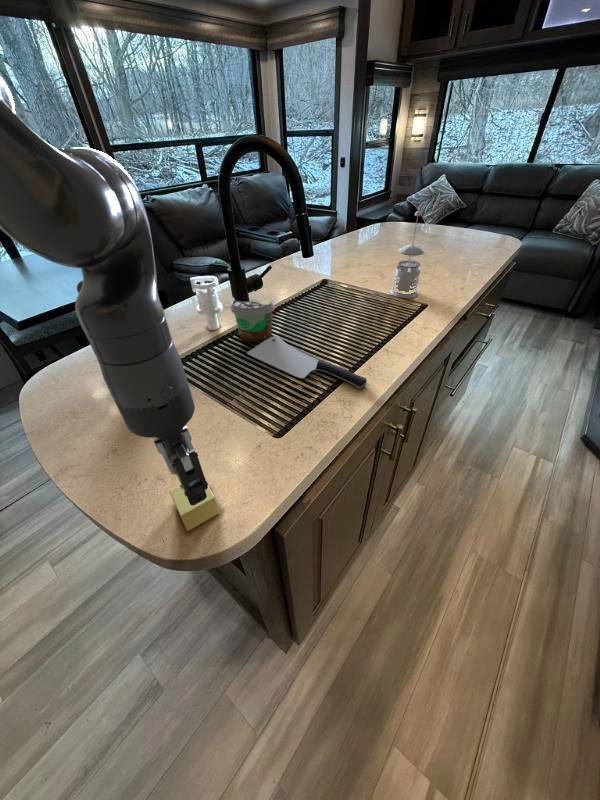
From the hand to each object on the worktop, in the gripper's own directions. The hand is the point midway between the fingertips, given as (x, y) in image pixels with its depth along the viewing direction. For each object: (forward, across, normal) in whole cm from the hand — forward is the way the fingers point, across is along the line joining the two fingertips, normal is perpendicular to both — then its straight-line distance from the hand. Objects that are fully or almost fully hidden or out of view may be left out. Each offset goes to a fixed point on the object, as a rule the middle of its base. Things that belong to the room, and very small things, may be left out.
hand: (186, 478), depth 45 cm
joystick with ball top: (-10, -39, -1) cm, 40 cm away
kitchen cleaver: (+8, -22, +36) cm, 43 cm away
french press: (+8, -40, +92) cm, 101 cm away
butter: (+8, 0, 0) cm, 8 cm away
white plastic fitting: (+8, -55, +27) cm, 62 cm away
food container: (+8, -43, +32) cm, 54 cm away
